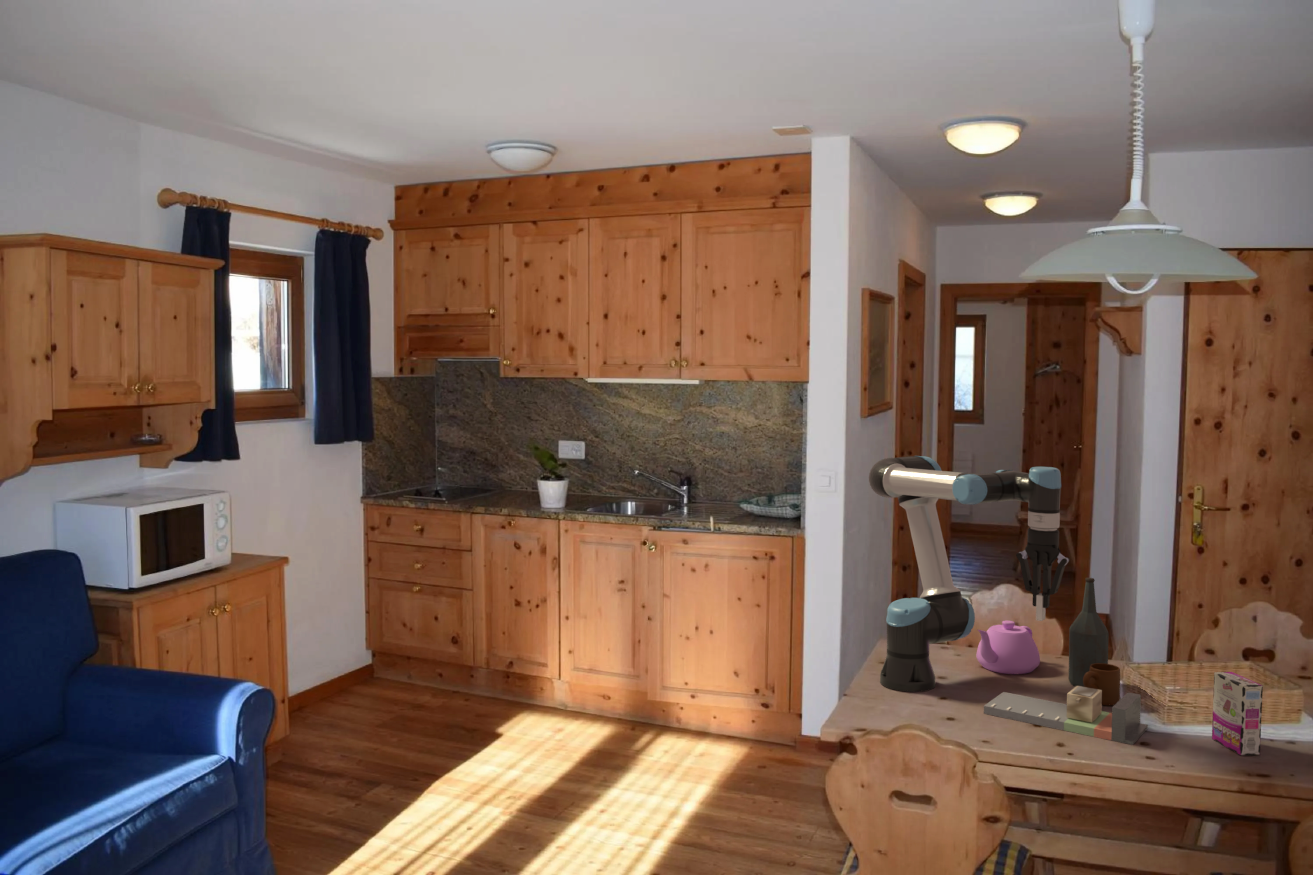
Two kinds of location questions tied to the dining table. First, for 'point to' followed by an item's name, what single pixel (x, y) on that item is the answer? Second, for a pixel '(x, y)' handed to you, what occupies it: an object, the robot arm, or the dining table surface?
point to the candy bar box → (1237, 713)
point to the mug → (1104, 682)
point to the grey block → (1127, 719)
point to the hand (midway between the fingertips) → (1040, 619)
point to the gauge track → (1047, 715)
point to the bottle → (1087, 638)
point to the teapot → (1008, 649)
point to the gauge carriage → (1084, 703)
